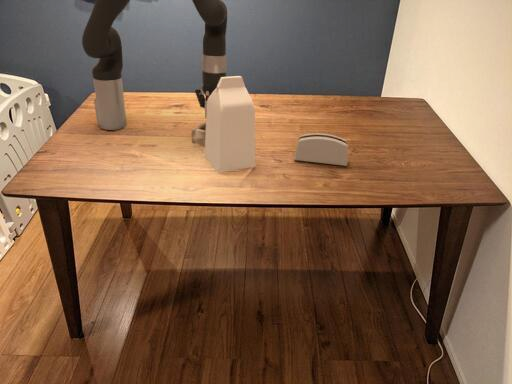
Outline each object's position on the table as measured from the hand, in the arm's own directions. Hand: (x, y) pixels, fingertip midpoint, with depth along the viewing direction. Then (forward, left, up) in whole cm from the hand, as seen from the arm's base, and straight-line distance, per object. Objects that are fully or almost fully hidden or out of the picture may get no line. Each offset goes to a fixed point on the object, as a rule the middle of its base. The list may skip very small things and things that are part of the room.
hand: (214, 121), depth 135 cm
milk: (+13, -12, -7) cm, 19 cm away
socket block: (0, 0, -7) cm, 7 cm away
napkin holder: (+37, +4, -8) cm, 38 cm away
